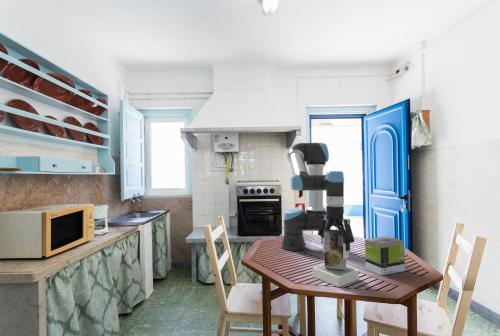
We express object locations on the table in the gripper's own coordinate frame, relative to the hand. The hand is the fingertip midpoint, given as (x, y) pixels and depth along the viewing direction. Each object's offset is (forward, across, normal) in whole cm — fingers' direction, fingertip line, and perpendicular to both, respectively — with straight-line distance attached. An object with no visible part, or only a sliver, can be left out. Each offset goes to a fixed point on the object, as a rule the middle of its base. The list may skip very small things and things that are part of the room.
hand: (335, 254), depth 123 cm
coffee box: (+6, 0, 0) cm, 6 cm away
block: (+10, 0, 0) cm, 10 cm away
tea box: (+11, +8, +27) cm, 30 cm away
